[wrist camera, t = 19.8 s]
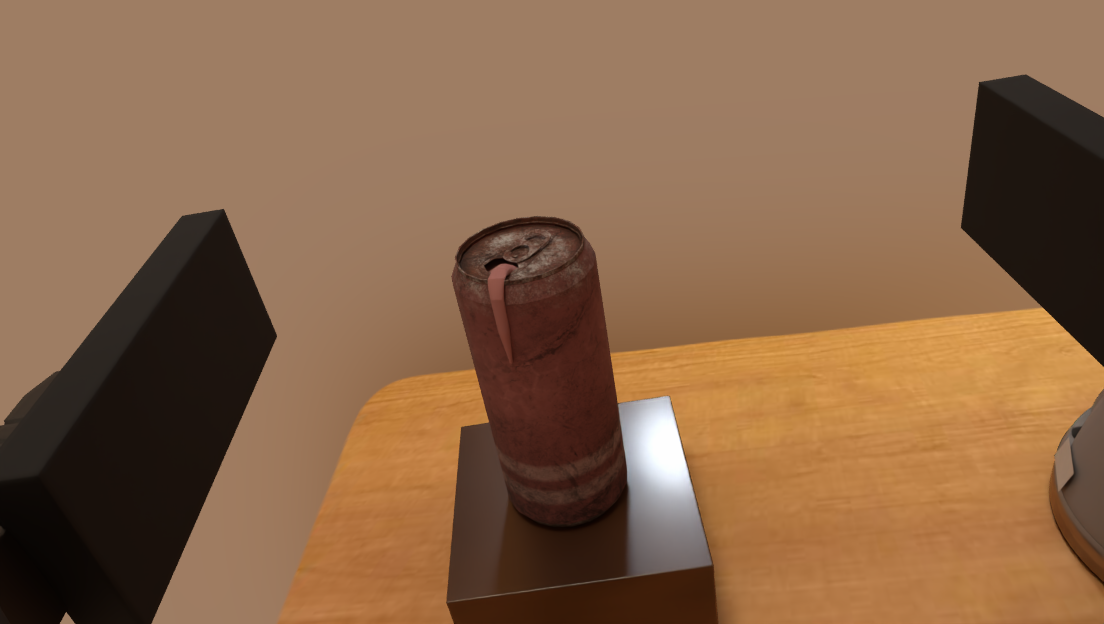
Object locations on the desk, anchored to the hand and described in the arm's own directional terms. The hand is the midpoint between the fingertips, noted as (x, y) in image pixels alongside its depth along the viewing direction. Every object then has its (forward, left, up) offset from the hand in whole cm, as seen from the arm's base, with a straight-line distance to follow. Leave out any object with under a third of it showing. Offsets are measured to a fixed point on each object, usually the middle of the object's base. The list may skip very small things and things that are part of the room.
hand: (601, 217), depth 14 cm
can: (+3, -17, -23) cm, 29 cm away
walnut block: (+3, -17, -28) cm, 33 cm away
